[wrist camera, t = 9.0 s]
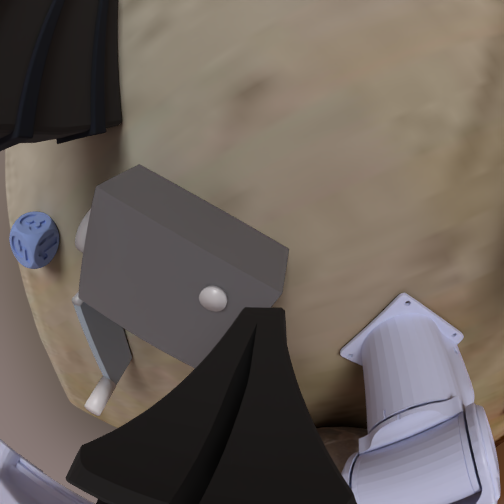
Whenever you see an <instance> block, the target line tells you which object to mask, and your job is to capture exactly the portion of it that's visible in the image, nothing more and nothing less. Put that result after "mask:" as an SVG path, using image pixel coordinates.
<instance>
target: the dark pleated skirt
mask: <svg viewBox="0 0 504 504" xmlns="http://www.w3.org/2000/svg"><path fill="white" fill-rule="evenodd" d="M117 8H118V0H0V151H2V150H4V149H6V148H9V147H11V146H14V145H16V144H19V143H36V142H41V141H46V140H52V139H57V144H59V143H63V142H67V141H71V140H75V139H79V138H83V137H87V136H92V135H96V134H101V133H105V132H106V128H108V127H113V126H118V125H119V124H120V123H121V122H122V116H121V105H120V93H119V78H118V55H117Z"/></svg>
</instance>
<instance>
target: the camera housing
mask: <svg viewBox="0 0 504 504" xmlns="http://www.w3.org/2000/svg"><path fill="white" fill-rule="evenodd" d="M75 246H76V248H77V249H78V250H79V251H81V252H82V253H83V258H82V266H81V274H80V284H79V294H78V298H79V299H81V300H82V301H84V302H85V303H86V304H88V305H89V306H91V307H92V308H94V309H95V310H97V311H98V312H100V313H101V314H103V315H104V316H106V317H107V318H109V319H110V320H112V321H113V322H115V323H116V324H118V325H120V326H121V327H123V328H124V329H126V330H128V331H129V332H131V333H132V334H134V335H136V336H137V337H139V338H141V339H142V340H144V341H146V342H148V343H149V344H151V345H153V346H155V347H156V348H158V349H160V350H162V351H163V352H165V353H167V354H169V355H171V356H173V357H174V358H176V359H178V360H180V361H182V362H184V363H186V364H188V365H190V366H192V367H194V368H196V367H197V366H198V365H199V364H200V363H201V362H202V361H203V360H204V358H205V357H206V356H207V355H208V354H209V353H210V352H211V350H212V349H213V348H214V347H215V346H216V344H217V343H218V342H219V341H220V339H221V338H222V337H223V336H224V334H225V333H226V332H227V330H228V329H229V328H230V326H231V325H232V324H233V322H234V321H235V319H236V318H237V317H238V315H239V314H240V312H241V311H242V309H244V308H245V307H260V308H271V306H272V305H273V304H274V303H275V301H276V300H277V299H278V298H279V297H280V295H281V294H282V292H283V285H284V279H285V272H286V266H287V259H288V252H289V249H288V248H287V247H285V246H283V245H282V244H280V243H278V242H276V241H275V240H273V239H271V238H270V237H268V236H266V235H264V234H263V233H261V232H259V231H257V230H256V229H254V228H252V227H251V226H249V225H247V224H245V223H244V222H242V221H240V220H238V219H237V218H235V217H233V216H231V215H230V214H228V213H226V212H224V211H222V210H221V209H219V208H217V207H215V206H214V205H212V204H210V203H208V202H207V201H205V200H203V199H201V198H199V197H198V196H196V195H194V194H192V193H190V192H189V191H187V190H185V189H183V188H181V187H180V186H178V185H176V184H174V183H172V182H171V181H169V180H167V179H165V178H163V177H162V176H160V175H158V174H156V173H154V172H152V171H151V170H149V169H147V168H145V167H143V166H141V165H140V164H139V165H137V166H135V167H133V168H131V169H129V170H127V171H125V172H123V173H121V174H119V175H117V176H115V177H113V178H111V179H109V180H107V181H105V182H103V183H101V184H99V185H97V186H96V189H95V193H94V197H93V202H92V207H91V209H90V210H89V211H88V212H87V214H86V215H85V216H84V218H83V220H82V221H81V223H80V225H79V228H78V230H77V233H76V238H75Z"/></svg>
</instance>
